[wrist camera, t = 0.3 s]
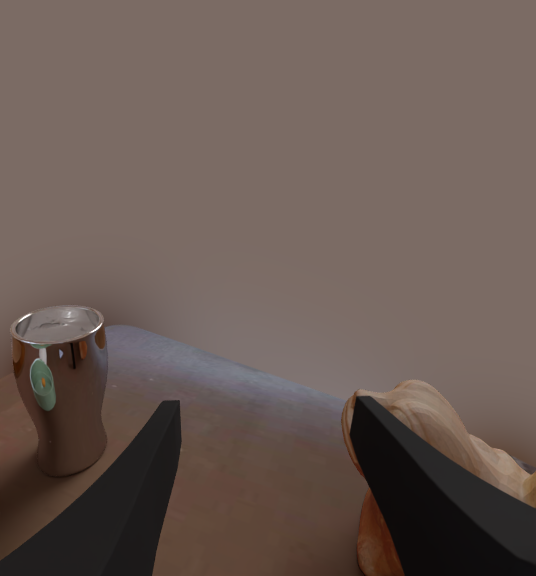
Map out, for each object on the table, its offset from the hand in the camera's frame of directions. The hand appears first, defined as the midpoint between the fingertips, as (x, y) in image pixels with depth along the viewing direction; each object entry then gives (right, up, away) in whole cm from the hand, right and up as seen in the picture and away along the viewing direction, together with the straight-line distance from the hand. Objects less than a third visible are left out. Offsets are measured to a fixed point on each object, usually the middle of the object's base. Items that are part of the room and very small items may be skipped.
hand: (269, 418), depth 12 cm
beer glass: (-20, -12, +19) cm, 30 cm away
